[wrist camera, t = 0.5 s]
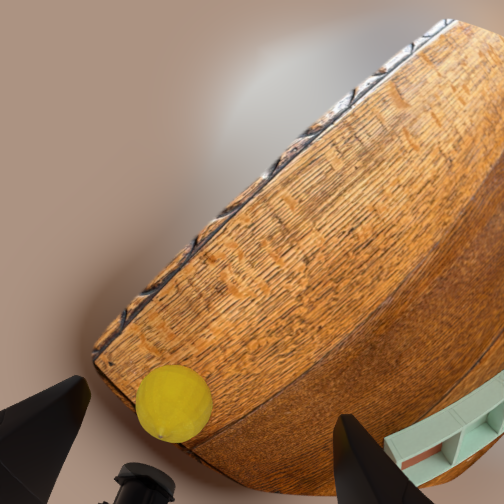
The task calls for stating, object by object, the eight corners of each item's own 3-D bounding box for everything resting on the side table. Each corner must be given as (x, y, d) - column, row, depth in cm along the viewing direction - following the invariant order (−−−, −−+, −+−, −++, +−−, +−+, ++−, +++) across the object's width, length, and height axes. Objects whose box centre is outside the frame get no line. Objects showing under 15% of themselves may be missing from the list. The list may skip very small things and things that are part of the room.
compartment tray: (383, 475, 25) (393, 497, 21) (383, 437, 24) (396, 461, 19) (520, 392, 24) (535, 404, 20) (530, 346, 23) (548, 357, 18)
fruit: (151, 391, 23) (120, 450, 15) (156, 339, 22) (117, 393, 14) (211, 406, 23) (199, 473, 15) (222, 356, 22) (210, 420, 14)
